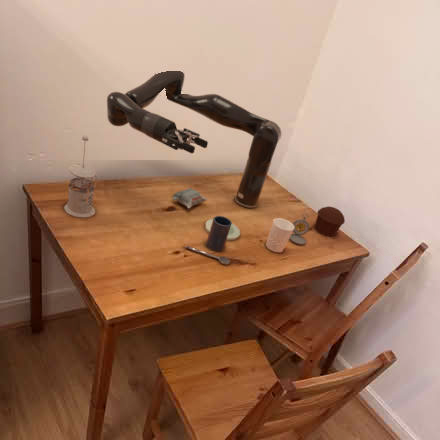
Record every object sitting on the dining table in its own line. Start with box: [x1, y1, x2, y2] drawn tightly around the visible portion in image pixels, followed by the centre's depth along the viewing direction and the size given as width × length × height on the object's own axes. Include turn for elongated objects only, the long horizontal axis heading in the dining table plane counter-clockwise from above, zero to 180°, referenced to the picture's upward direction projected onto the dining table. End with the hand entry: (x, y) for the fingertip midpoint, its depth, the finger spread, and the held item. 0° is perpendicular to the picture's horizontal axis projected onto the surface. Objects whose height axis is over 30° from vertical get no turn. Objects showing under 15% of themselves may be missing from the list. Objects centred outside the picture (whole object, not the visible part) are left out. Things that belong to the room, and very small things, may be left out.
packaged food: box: [171, 187, 208, 209], centre depth 165 cm, size 9×12×5 cm
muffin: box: [314, 206, 345, 237], centre depth 178 cm, size 12×11×10 cm
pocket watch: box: [289, 213, 310, 246], centre depth 165 cm, size 8×8×10 cm
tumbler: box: [205, 215, 233, 252], centre depth 145 cm, size 6×6×10 cm
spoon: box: [185, 245, 231, 266], centre depth 142 cm, size 4×16×1 cm, turn 78°
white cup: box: [265, 217, 294, 253], centre depth 155 cm, size 8×8×10 cm
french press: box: [63, 135, 97, 218], centre depth 137 cm, size 10×12×25 cm
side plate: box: [204, 218, 241, 242], centre depth 157 cm, size 13×13×1 cm
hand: (200, 147), depth 138 cm, fingers open, 8 cm apart
